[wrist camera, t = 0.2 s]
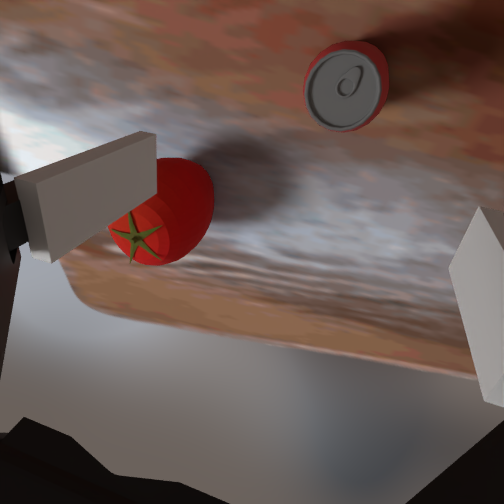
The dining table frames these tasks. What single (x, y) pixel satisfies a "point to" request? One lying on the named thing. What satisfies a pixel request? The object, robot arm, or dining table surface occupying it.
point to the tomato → (168, 215)
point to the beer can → (346, 85)
